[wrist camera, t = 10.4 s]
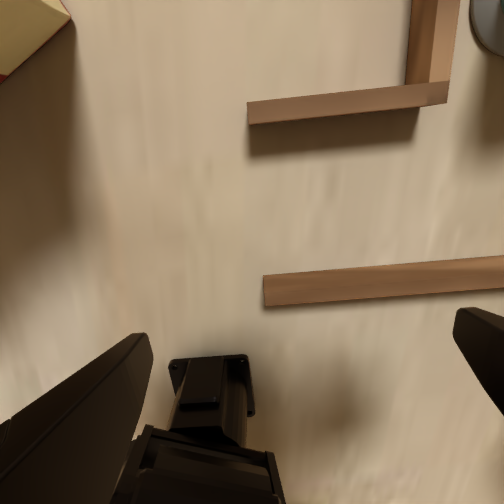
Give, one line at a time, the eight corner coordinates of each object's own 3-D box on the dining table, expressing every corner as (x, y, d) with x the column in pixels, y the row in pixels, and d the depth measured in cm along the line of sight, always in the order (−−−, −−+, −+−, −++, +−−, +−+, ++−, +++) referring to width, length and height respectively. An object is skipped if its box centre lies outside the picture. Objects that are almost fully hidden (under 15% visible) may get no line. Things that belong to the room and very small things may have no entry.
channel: (561, 263, 21) (600, 279, 18) (264, 287, 22) (265, 306, 19) (691, -139, 13) (782, -196, 11) (230, -78, 14) (226, -119, 12)
